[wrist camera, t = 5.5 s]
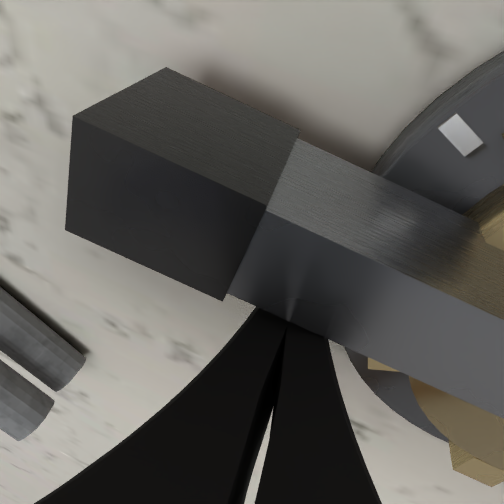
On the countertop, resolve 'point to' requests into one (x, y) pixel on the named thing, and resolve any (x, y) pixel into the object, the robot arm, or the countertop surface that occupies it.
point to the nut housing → (444, 184)
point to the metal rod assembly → (30, 367)
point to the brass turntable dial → (303, 244)
